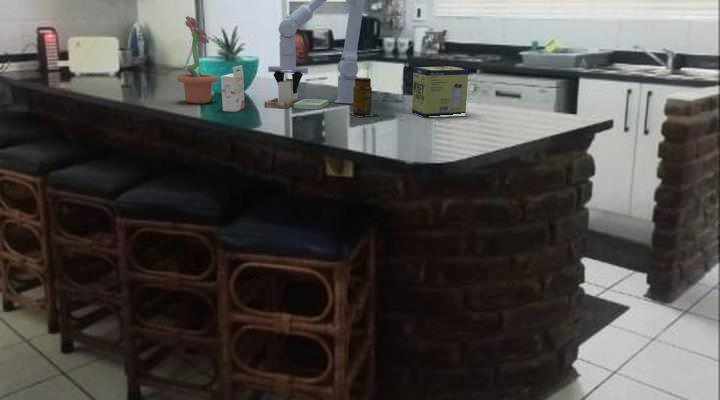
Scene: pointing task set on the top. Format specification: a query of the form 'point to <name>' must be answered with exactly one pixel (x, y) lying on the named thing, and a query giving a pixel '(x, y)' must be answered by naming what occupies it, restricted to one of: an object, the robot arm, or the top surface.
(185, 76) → the decorative flower
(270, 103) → the caddy bay
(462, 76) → the protein box
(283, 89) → the light grey square block
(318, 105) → the tray
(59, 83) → the top surface
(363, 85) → the condiment
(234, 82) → the ink cartridge box
